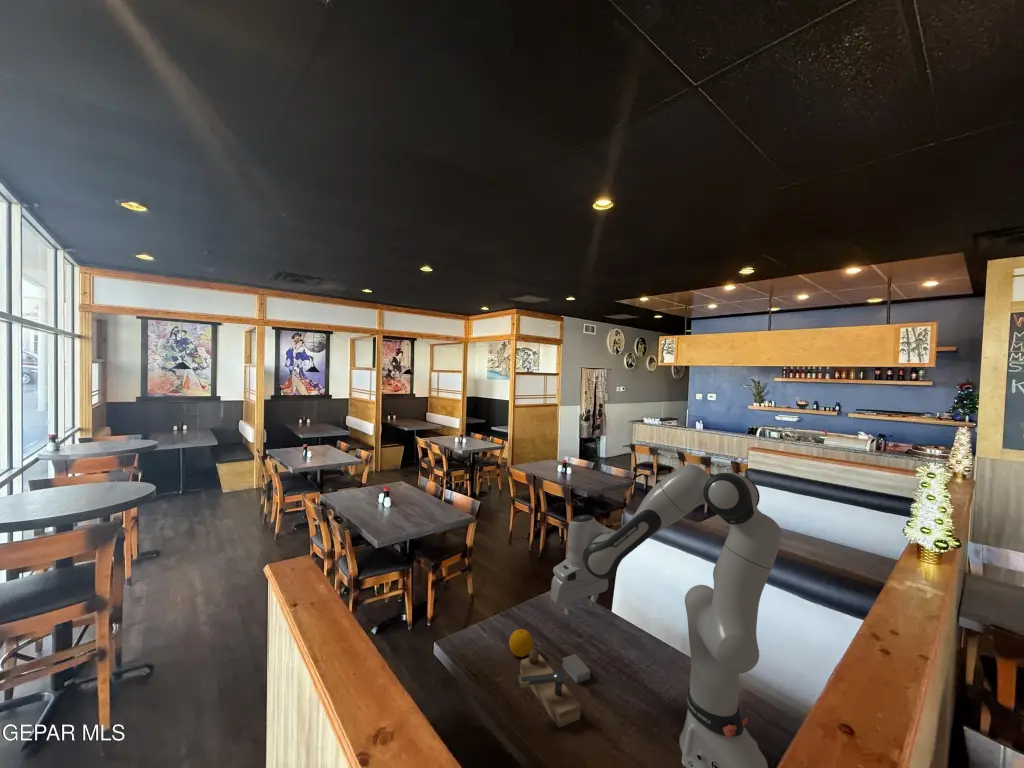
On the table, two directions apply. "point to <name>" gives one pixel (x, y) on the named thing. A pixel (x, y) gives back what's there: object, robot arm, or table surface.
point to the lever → (542, 679)
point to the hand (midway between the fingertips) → (579, 609)
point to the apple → (520, 643)
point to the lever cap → (576, 668)
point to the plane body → (551, 691)
